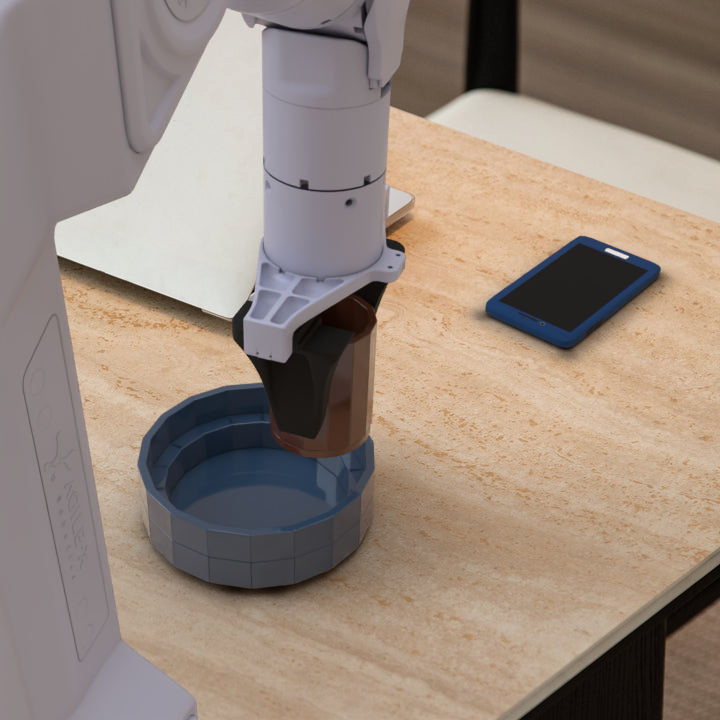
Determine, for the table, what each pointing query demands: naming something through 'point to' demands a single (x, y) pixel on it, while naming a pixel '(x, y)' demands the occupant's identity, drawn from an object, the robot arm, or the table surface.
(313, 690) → the table surface
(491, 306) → the cell phone
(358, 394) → the cup
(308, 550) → the bowl
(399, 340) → the table surface
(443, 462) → the table surface
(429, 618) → the table surface
